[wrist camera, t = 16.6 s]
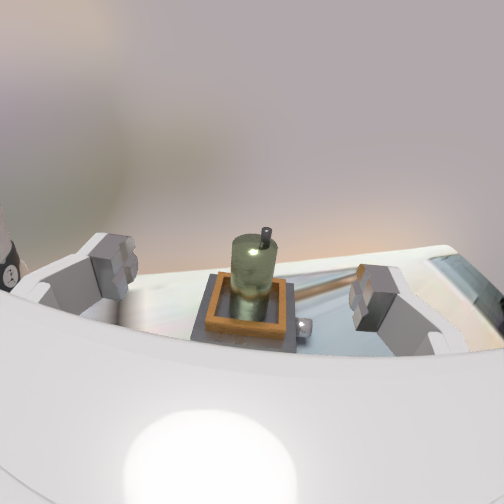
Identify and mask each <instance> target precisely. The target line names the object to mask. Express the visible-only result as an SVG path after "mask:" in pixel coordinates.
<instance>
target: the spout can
mask: <svg viewBox="0 0 504 504" xmlns="http://www.w3.org/2000/svg"><path fill="white" fill-rule="evenodd" d="M271 233H272V229H271V228H269V227H264V228H262V233H261V235H260V234H244V235H241V236H238V237H237V238H235V240H234V241H233V244H232V260H231V279H230V299H229V311H230V313H231V315H232V316H233V317H234V318H236V319H239V320H248V321H256V322H257V321H259V320H261V319H263V318H264V317H265V316H266V314H267V309H268V303H269V297H270V291H271V286H272V280H273V274H274V267H275V261H276V255H277V248H278V247H277V244H276V243H275V241H274V240H272V239H271Z"/></svg>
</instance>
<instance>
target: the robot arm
mask: <svg viewBox="0 0 504 504" xmlns="http://www.w3.org/2000/svg"><path fill="white" fill-rule="evenodd" d="M134 249H135V242H134V239H133V238H132V237H131V236H123V235H116V234H108V233H101V232H100V233H96V234H95V235H94V236H93V237H92V238H91V239H90V240H89V241H88V242H87V243H86V244H85V245H84V246H83V247H82V248H81V249H80V251H78V252H77V253H76V254H71V255H69V256H67V257H64V258H62V259H60V260H58V261H55V262H53V263H51V264H49V265H47V266H45V267H42V268H40V269H38V270H36V271H34V272H32V273H29V271H28V269H27V267H26V265H25V263H24V261H23V260H20V259H19V256H18V252H17V249H16V247H15V245H14V243H13V241H11V240H10V237H9V234H8V231H7V227H6V224H5V221H4V217H3V213H2V210H1V206H0V504H504V348H501V349H493V350H485V351H477V352H470V350H469V348H468V346H467V344H466V342H465V340H464V338H463V335H462V333H461V331H460V330H459V329H458V328H456V327H455V326H454V325H453V324H452V323H450V322H449V321H448V320H447V319H445V318H444V317H443V316H442V315H441V314H439V313H438V312H437V311H436V310H434V309H433V308H432V307H431V306H429V305H428V304H427V303H426V302H424V301H423V300H422V299H420V298H419V297H418V296H417V295H413V294H412V292H411V290H410V288H409V286H408V284H407V282H406V280H405V278H404V276H403V274H402V272H401V271H400V269H399V268H398V267H391V266H378V265H367V264H360V265H359V267H358V269H357V271H356V275H357V278H358V279H357V280H356V281H354V282H353V283H352V285H351V288H350V293H349V305H350V308H351V309H352V310H353V311H354V315H353V317H352V318H353V322H354V326H355V330H356V331H365V332H377V334H378V335H379V337H380V338H381V339H382V340H383V341H384V343H385V344H386V345H387V346H388V347H389V349H390V350H391V351H392V352H393V354H394V355H395V356H396V357H359V356H328V355H310V354H296V353H283V352H273V351H263V350H254V349H245V348H237V347H230V346H223V345H216V344H209V343H203V342H196V341H191V340H185V339H179V338H174V337H168V336H163V335H158V334H153V333H148V332H143V331H139V330H134V329H129V328H125V327H121V326H117V325H112V324H108V323H104V322H100V321H97V320H93V319H89V318H85V317H82V316H78V315H80V314H81V313H82V312H84V311H85V310H87V309H88V308H89V307H91V306H92V305H94V304H95V303H96V302H98V301H99V300H101V299H102V298H107V299H112V300H118V301H122V299H123V297H124V296H125V294H126V292H127V291H128V284H129V283H131V282H133V281H134V279H135V277H136V275H137V271H138V259H137V256H136V255H135V254H134V253H133V250H134Z"/></svg>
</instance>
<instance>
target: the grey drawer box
mask: <svg viewBox="0 0 504 504" xmlns="http://www.w3.org/2000/svg"><path fill="white" fill-rule="evenodd" d="M230 279H231V273H226V272H218V275H217V274H210V276H209V279H208V282H207V285H206V289H205V292H204V295H203V298H202V301H201V304H200V308H199V311H198V314H197V317H196V321H195V324H194V327H193V331H192V334H191V337H190V339H191V341H196V342H203V343H209V344H216V345H223V346H230V347H237V348H245V349H254V350H263V351H273V352H283V353H296V337H307V338H310V336H311V333H312V319H307V318H296V317H295V300H294V284H293V283H286V280H285V279H276V278H273V280H272V286H271V291H270V297H269V303H268V309H267V314H266V316H265V317H264V318H263V319H261V320H259V321H257V322H256V321H248V320H239V319H236V318H234V317H233V316H232V315H231V313H230V311H229V299H230Z"/></svg>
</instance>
